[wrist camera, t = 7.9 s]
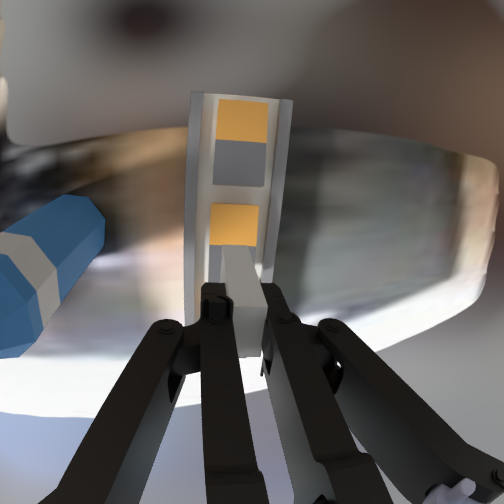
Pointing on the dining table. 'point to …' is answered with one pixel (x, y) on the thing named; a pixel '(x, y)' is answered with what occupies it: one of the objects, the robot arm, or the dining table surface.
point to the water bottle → (44, 266)
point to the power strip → (229, 191)
